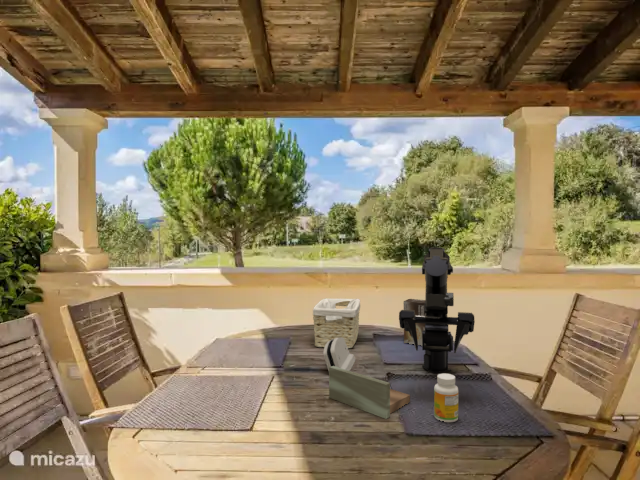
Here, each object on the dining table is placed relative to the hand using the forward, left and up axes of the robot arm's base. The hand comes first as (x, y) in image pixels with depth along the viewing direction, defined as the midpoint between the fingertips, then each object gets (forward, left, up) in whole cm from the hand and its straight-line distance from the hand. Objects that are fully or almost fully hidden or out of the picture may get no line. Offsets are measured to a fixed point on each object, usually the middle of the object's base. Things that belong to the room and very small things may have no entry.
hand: (435, 351), depth 110 cm
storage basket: (0, -63, -14) cm, 65 cm away
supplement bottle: (+3, +8, -13) cm, 16 cm away
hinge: (+12, -34, -14) cm, 39 cm away
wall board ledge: (+15, -7, -13) cm, 21 cm away
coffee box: (-26, -48, -13) cm, 56 cm away
